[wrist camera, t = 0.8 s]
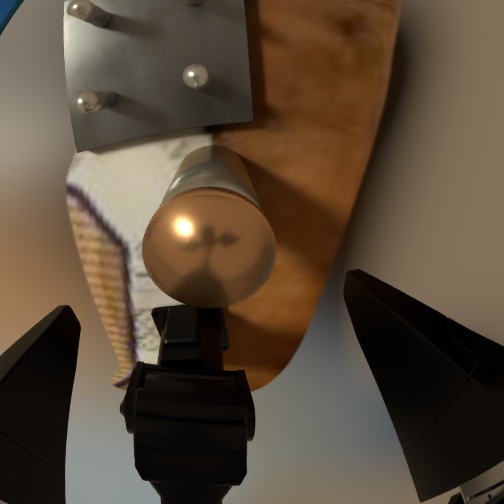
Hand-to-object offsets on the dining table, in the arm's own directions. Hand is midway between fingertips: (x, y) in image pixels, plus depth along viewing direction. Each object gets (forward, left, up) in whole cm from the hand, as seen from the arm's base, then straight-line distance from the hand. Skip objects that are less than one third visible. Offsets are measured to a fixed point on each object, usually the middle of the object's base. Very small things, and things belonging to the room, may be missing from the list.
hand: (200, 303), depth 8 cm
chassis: (+10, +3, -13) cm, 16 cm away
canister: (0, 0, -13) cm, 13 cm away
